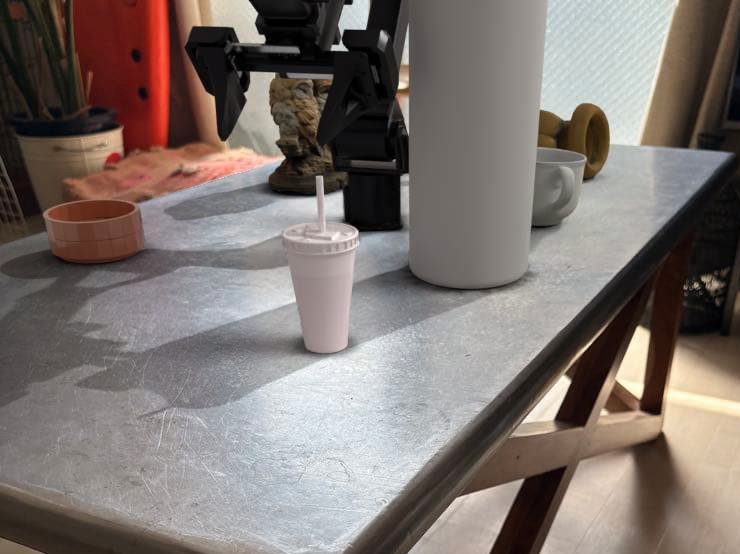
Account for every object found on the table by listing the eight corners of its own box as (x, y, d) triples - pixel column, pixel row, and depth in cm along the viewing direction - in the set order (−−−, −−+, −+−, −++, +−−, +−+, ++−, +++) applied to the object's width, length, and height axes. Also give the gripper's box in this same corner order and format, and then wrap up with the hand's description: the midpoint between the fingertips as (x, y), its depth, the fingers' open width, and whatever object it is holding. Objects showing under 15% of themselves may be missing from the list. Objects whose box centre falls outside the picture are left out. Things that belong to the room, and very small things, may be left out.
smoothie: (306, 364, 73) (293, 188, 65) (278, 339, 78) (263, 171, 70) (375, 350, 75) (371, 178, 67) (344, 326, 80) (337, 163, 72)
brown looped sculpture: (488, 101, 139) (618, 87, 127) (482, 188, 142) (608, 183, 130) (420, 73, 125) (559, 54, 112) (415, 171, 128) (550, 162, 115)
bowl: (150, 237, 104) (144, 197, 101) (140, 263, 96) (133, 221, 93) (62, 240, 103) (53, 200, 100) (44, 267, 95) (33, 224, 92)
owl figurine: (331, 200, 118) (324, 56, 108) (250, 195, 120) (236, 54, 111) (370, 171, 132) (367, 41, 122) (297, 167, 134) (288, 40, 125)
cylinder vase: (510, 297, 86) (529, -1, 72) (392, 283, 90) (387, -3, 76) (539, 260, 96) (561, -9, 82) (431, 249, 99) (434, -11, 85)
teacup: (485, 210, 113) (489, 143, 109) (568, 208, 114) (574, 141, 109) (505, 241, 102) (509, 168, 97) (597, 238, 103) (605, 166, 98)
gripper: (184, -83, 75) (131, 62, 71) (393, -85, 71) (349, 69, 67) (230, 28, 86) (186, 159, 81) (415, 32, 81) (378, 171, 77)
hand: (269, 140), depth 76 cm, fingers open, 9 cm apart
